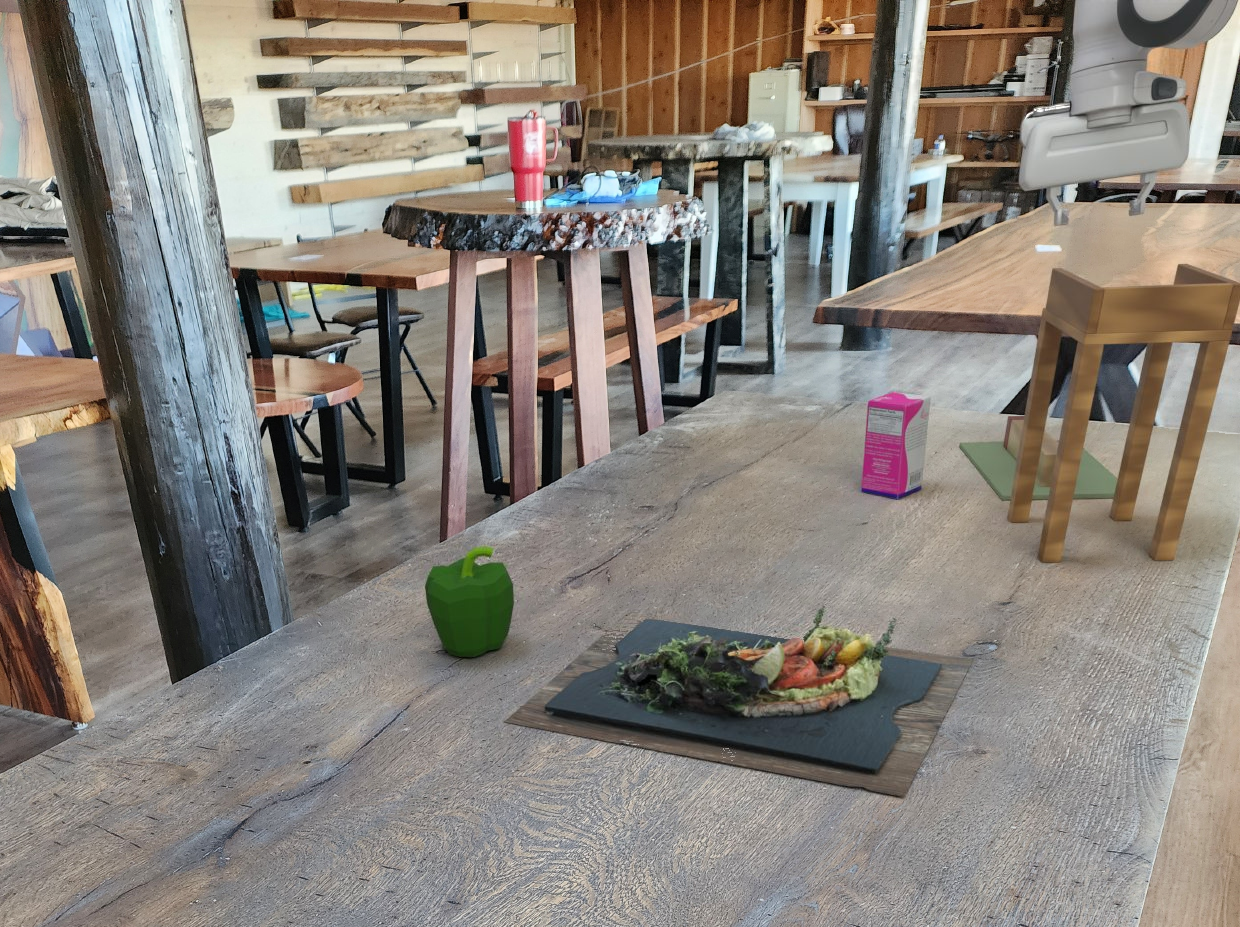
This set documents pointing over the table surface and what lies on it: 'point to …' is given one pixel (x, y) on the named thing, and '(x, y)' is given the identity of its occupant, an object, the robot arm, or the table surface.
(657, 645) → the plated dish
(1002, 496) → the rubber mat
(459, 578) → the bell pepper
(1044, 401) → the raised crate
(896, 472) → the supplement box
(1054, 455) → the maple bar
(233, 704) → the table surface
